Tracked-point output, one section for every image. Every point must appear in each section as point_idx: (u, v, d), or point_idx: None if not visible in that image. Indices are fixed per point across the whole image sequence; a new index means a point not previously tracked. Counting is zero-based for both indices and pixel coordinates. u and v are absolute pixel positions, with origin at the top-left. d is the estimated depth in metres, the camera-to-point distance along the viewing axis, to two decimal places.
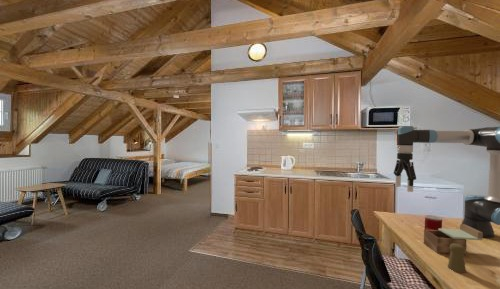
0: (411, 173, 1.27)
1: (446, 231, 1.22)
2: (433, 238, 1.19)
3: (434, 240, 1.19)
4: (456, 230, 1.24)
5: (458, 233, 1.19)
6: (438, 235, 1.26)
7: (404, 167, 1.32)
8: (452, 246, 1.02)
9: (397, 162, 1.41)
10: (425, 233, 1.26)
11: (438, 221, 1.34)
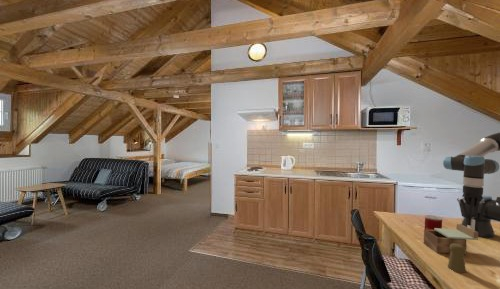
0: (461, 211, 1.20)
1: (442, 231, 1.22)
2: (433, 238, 1.19)
3: (434, 240, 1.19)
4: (451, 230, 1.24)
5: (454, 233, 1.20)
6: (438, 235, 1.26)
7: (465, 202, 1.21)
8: (452, 246, 1.02)
9: None
10: (425, 233, 1.26)
11: (438, 221, 1.34)
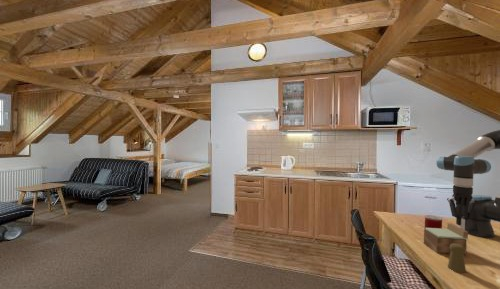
0: (451, 210, 1.21)
1: (432, 230, 1.23)
2: (433, 238, 1.19)
3: (434, 240, 1.19)
4: (442, 229, 1.25)
5: (444, 232, 1.20)
6: None
7: None
8: (452, 246, 1.02)
9: None
10: (425, 233, 1.26)
11: (438, 221, 1.34)
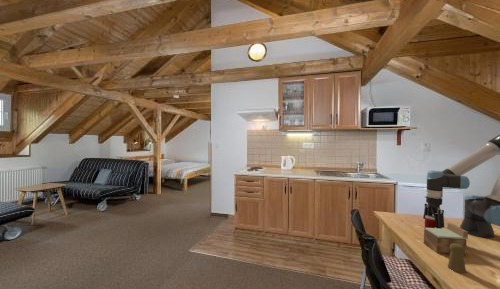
0: (440, 221, 1.31)
1: (432, 230, 1.23)
2: (433, 238, 1.19)
3: (434, 240, 1.19)
4: (442, 229, 1.25)
5: (444, 232, 1.20)
6: None
7: (433, 213, 1.35)
8: (452, 246, 1.02)
9: (425, 206, 1.43)
10: (425, 233, 1.26)
11: None
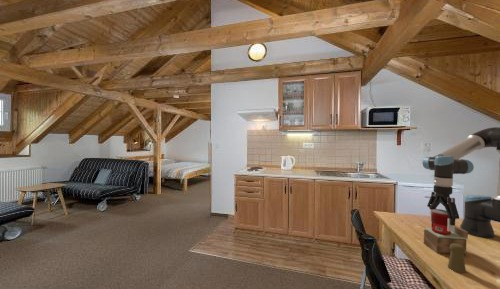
0: (453, 211, 1.12)
1: None
2: (433, 238, 1.19)
3: (434, 240, 1.19)
4: None
5: None
6: None
7: (443, 203, 1.17)
8: (452, 246, 1.02)
9: (432, 194, 1.26)
10: (425, 233, 1.26)
11: (448, 216, 1.17)
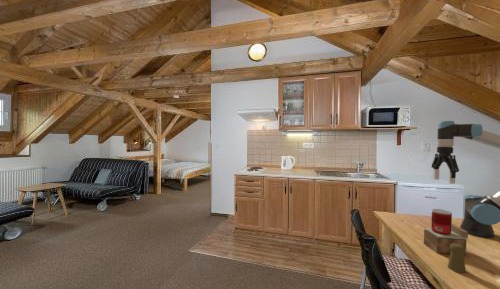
0: (454, 166, 1.32)
1: None
2: (433, 238, 1.19)
3: (434, 240, 1.19)
4: None
5: None
6: None
7: (445, 160, 1.38)
8: (452, 246, 1.02)
9: (436, 156, 1.47)
10: (425, 233, 1.26)
11: (448, 216, 1.17)
